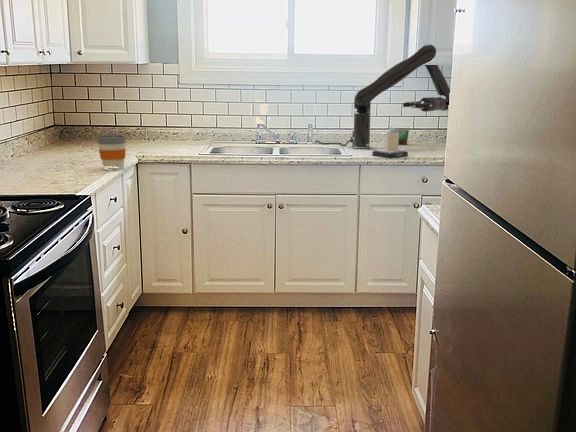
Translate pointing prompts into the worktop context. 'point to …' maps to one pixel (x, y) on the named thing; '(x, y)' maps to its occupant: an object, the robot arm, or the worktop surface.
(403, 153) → the scale
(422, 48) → the robot arm
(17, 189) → the worktop surface
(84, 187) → the worktop surface
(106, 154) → the reusable coffee cup
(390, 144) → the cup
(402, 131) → the food container
